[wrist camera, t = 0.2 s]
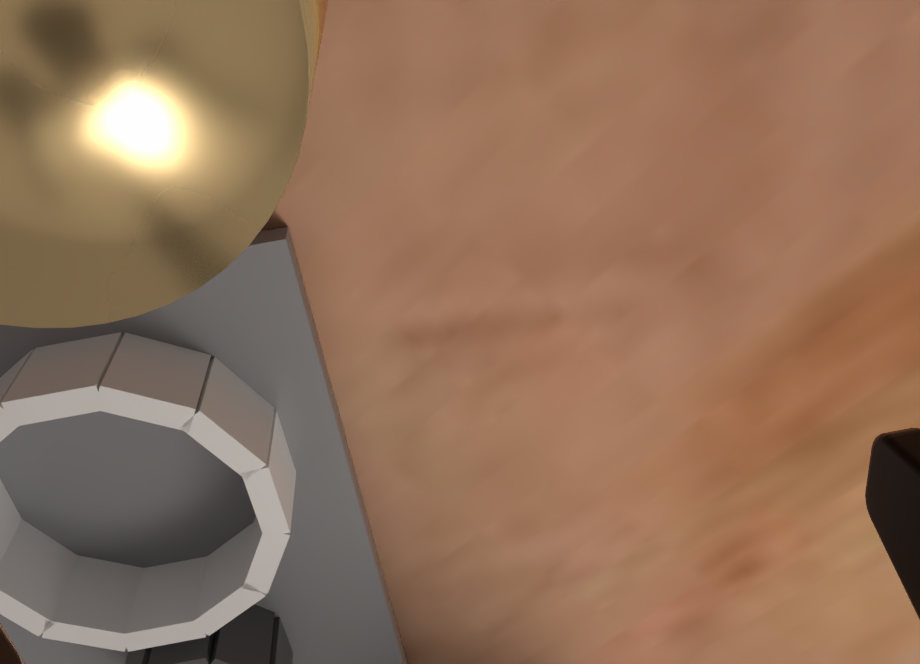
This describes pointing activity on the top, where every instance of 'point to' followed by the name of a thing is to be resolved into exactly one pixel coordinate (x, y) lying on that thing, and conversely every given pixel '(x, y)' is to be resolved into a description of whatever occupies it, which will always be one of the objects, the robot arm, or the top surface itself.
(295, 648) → the fitting board
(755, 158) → the top surface
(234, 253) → the gold cylinder peg
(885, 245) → the top surface
